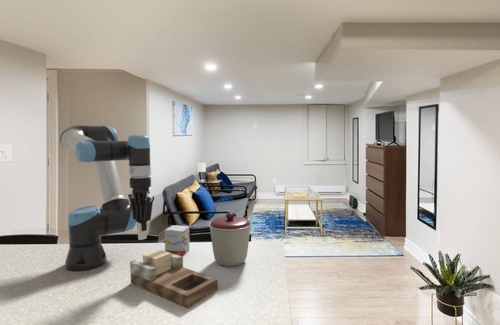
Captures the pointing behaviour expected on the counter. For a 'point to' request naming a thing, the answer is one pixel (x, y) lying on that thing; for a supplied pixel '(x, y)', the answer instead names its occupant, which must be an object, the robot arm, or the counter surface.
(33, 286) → the counter surface
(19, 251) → the counter surface
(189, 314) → the counter surface
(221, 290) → the counter surface
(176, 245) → the ink box
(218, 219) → the canister
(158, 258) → the birch block
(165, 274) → the wooden compartment tray
